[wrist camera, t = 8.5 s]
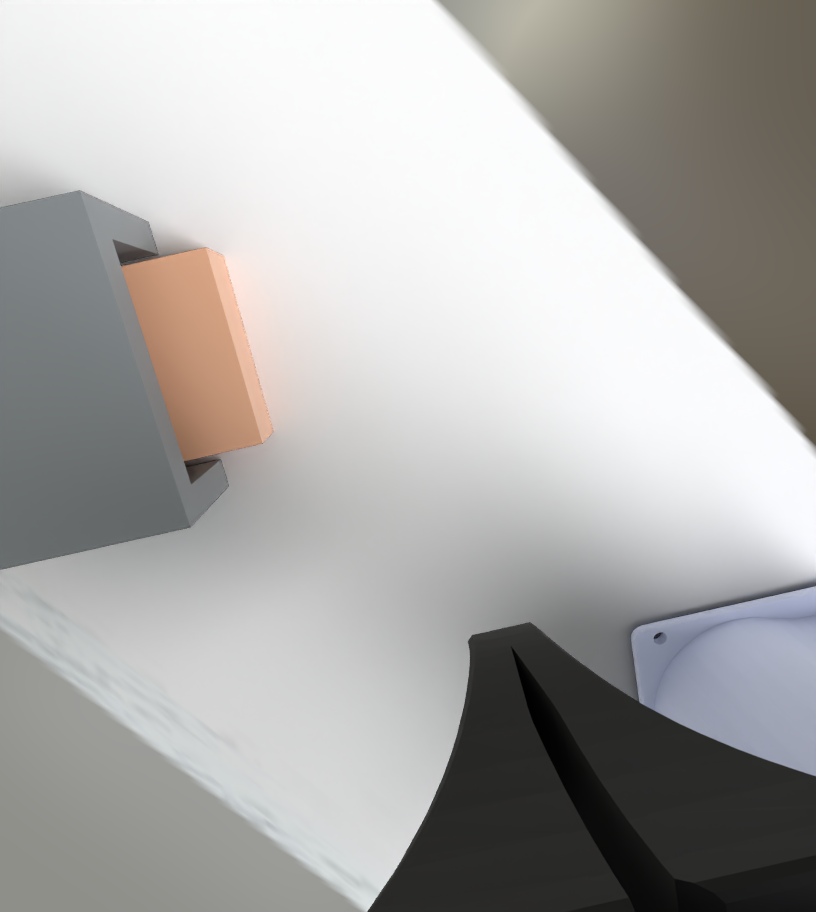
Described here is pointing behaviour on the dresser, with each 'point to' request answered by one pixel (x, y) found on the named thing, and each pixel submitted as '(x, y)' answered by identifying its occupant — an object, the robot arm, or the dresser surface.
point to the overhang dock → (82, 390)
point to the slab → (199, 352)
